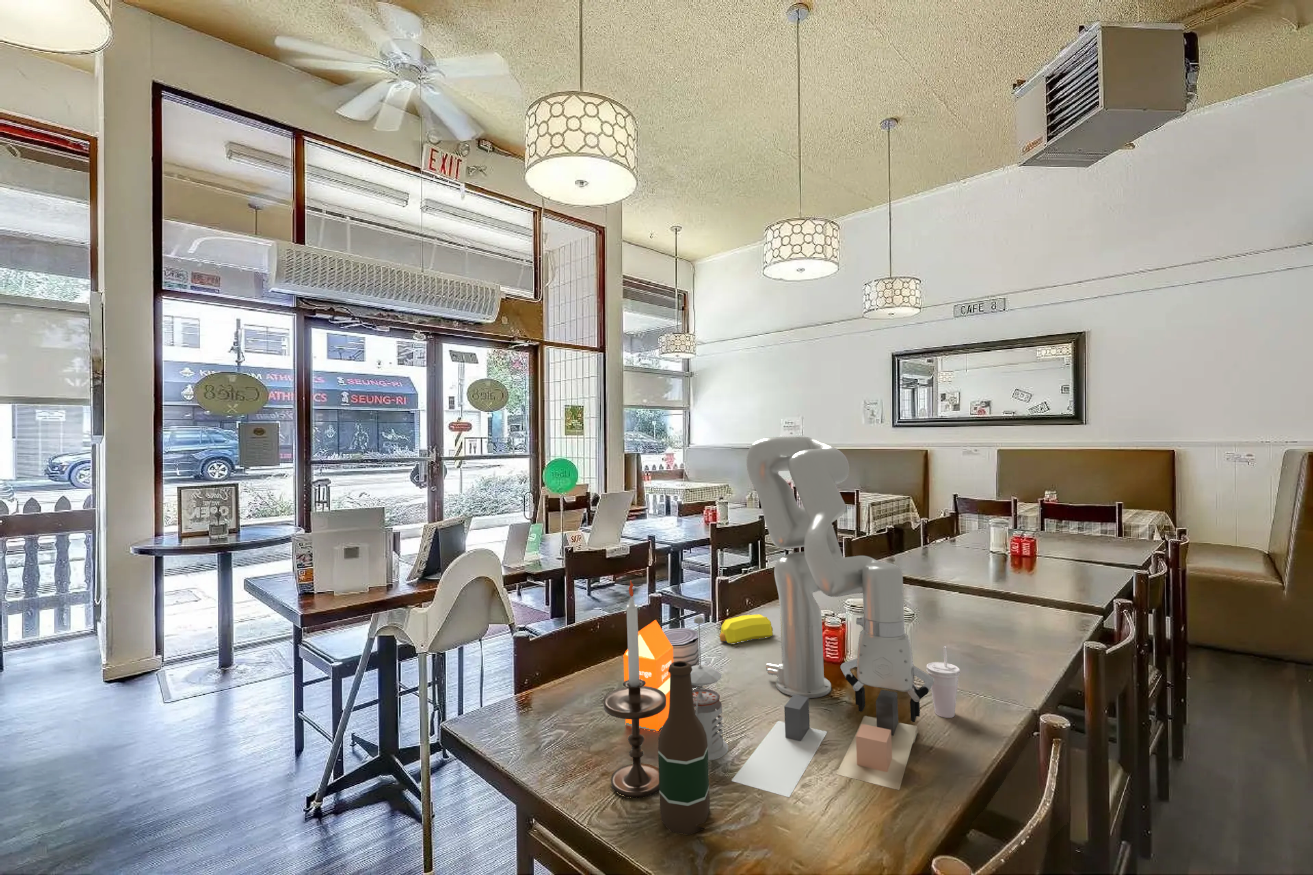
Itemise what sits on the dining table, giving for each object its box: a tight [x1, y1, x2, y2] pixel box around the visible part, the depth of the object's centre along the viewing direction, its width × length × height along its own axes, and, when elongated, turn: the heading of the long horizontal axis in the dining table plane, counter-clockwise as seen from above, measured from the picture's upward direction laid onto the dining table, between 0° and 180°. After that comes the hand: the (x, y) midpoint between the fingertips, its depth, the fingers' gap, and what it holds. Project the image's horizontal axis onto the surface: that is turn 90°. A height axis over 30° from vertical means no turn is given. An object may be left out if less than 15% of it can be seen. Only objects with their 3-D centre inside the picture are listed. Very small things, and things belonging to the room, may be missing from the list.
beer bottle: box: [657, 661, 711, 836], centre depth 90 cm, size 8×8×24 cm
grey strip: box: [731, 695, 828, 798], centre depth 106 cm, size 10×24×7 cm, turn 149°
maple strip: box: [835, 689, 919, 791], centre depth 107 cm, size 10×24×7 cm, turn 149°
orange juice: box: [623, 619, 673, 732], centre depth 124 cm, size 8×9×20 cm
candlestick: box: [603, 579, 666, 799], centre depth 101 cm, size 11×11×35 cm
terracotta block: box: [856, 723, 892, 772], centre depth 103 cm, size 5×5×5 cm
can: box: [662, 627, 700, 689], centre depth 142 cm, size 11×11×12 cm
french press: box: [691, 615, 729, 761], centre depth 111 cm, size 10×12×25 cm
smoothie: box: [925, 645, 961, 719], centre depth 122 cm, size 6×6×14 cm
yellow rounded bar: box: [719, 613, 774, 644], centre depth 173 cm, size 18×7×8 cm
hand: (887, 713), depth 115 cm, fingers open, 9 cm apart
